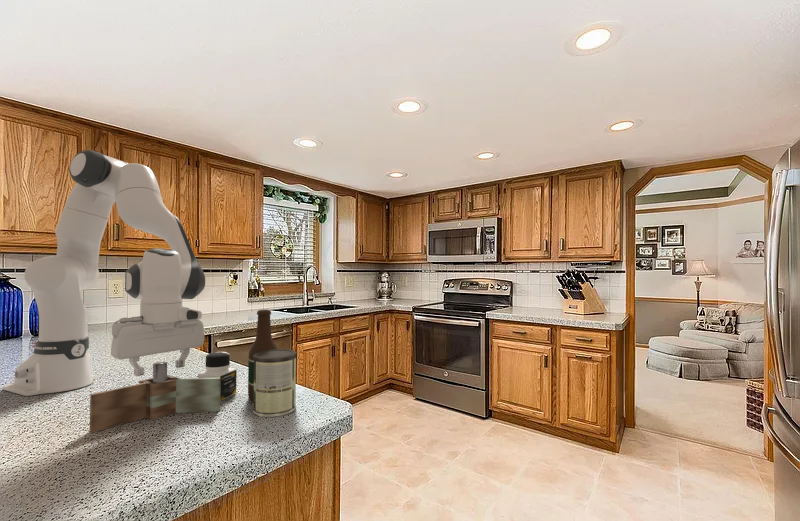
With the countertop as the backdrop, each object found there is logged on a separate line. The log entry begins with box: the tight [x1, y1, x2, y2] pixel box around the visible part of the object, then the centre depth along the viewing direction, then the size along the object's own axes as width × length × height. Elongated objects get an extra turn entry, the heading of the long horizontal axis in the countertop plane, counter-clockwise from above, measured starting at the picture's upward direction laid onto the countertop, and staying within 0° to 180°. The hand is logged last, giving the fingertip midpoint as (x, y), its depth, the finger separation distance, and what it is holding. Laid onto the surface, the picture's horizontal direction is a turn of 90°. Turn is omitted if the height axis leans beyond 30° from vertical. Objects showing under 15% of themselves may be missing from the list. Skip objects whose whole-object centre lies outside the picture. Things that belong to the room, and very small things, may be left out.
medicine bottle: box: [197, 351, 237, 402], centre depth 108 cm, size 7×7×12 cm
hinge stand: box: [89, 374, 221, 434], centre depth 92 cm, size 23×14×8 cm, turn 147°
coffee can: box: [252, 348, 298, 418], centre depth 98 cm, size 10×10×14 cm
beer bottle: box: [247, 309, 278, 403], centre depth 107 cm, size 8×8×24 cm
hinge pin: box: [152, 361, 168, 384], centre depth 96 cm, size 3×3×12 cm
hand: (160, 371), depth 96 cm, fingers open, 8 cm apart
